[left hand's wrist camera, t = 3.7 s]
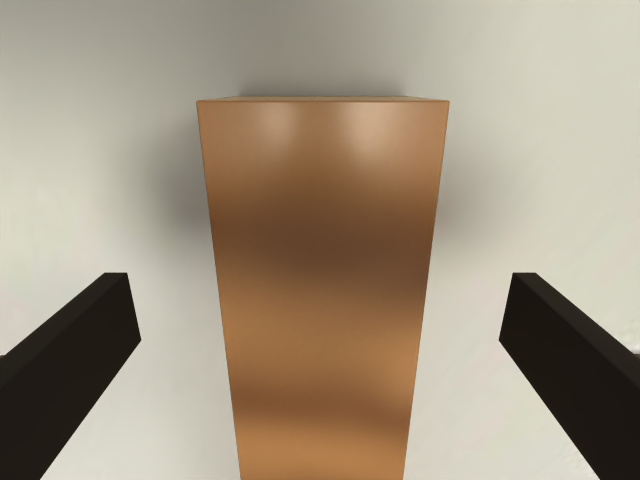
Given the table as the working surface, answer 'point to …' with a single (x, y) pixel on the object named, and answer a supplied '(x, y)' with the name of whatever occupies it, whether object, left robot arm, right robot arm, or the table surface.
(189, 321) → the table surface
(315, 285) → the long beam
